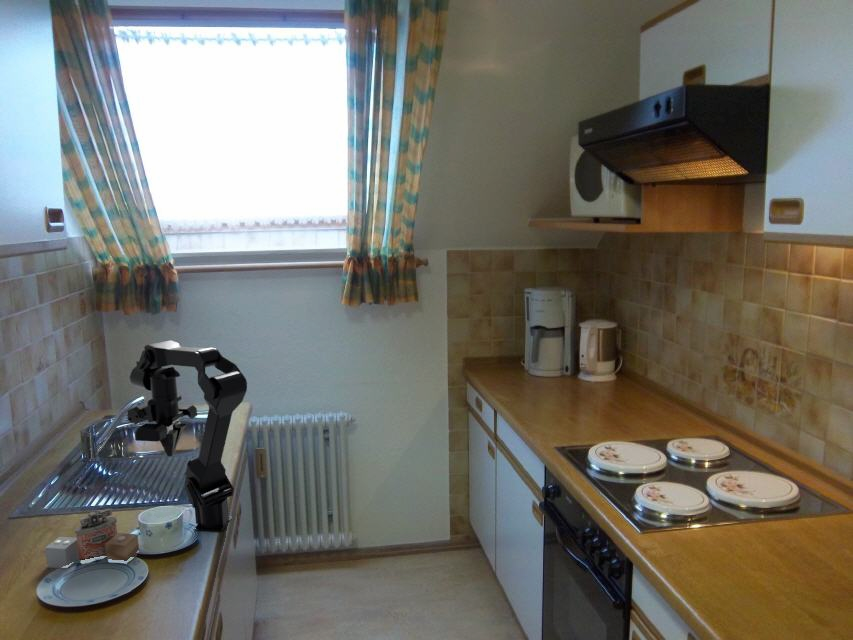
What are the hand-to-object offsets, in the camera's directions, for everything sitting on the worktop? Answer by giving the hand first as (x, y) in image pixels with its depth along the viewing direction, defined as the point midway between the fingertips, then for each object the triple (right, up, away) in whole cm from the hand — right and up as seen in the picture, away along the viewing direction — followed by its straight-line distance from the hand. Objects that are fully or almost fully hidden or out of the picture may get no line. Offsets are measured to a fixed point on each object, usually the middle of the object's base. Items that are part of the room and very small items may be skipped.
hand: (170, 455), depth 164 cm
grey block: (-14, -18, -22) cm, 32 cm away
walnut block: (-2, -17, -21) cm, 27 cm away
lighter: (-7, -18, -20) cm, 28 cm away
